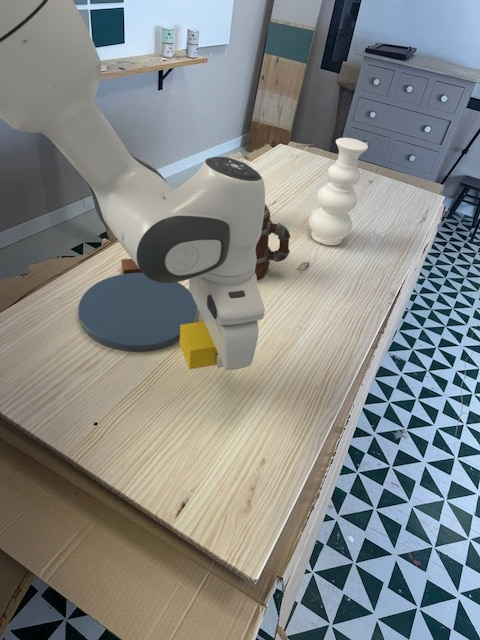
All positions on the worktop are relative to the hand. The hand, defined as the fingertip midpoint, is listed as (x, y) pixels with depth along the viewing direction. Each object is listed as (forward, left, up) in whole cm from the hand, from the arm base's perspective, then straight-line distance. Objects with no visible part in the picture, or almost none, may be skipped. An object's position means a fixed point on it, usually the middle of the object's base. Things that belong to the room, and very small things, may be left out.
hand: (213, 347), depth 74 cm
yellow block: (0, 0, -1) cm, 1 cm away
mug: (+19, +30, -8) cm, 36 cm away
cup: (+22, +52, -8) cm, 57 cm away
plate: (-8, +20, -7) cm, 23 cm away
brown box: (-7, +34, -7) cm, 35 cm away
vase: (+44, +40, -8) cm, 60 cm away
